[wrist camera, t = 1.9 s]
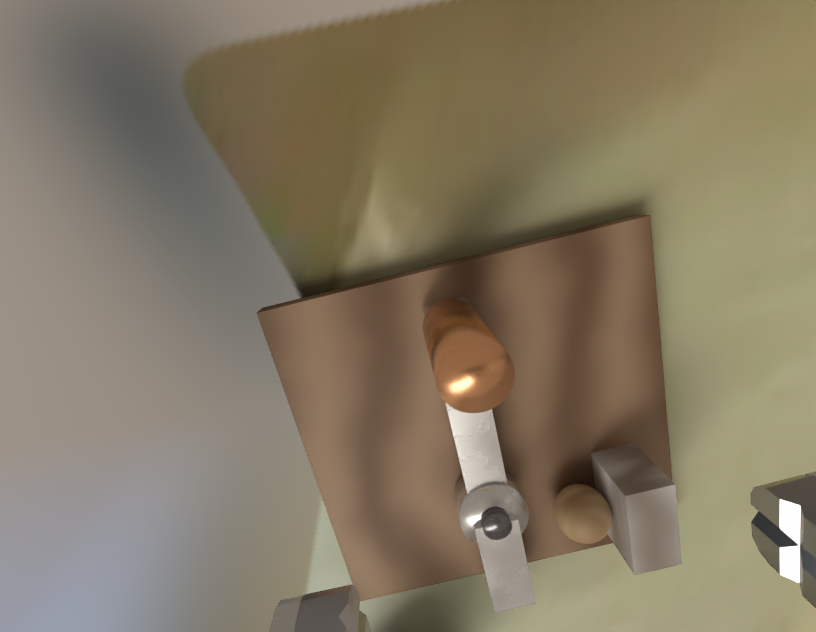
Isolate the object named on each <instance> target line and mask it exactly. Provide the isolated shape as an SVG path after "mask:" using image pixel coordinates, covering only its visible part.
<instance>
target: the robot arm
mask: <svg viewBox="0 0 816 632" xmlns="http://www.w3.org/2000/svg"><path fill="white" fill-rule="evenodd" d="M751 505H752V506H754V507H755V508H756V509H757V510H758V513H757V514H756V516H755V517H754V519H753V520H752V522H751V527H752V537H753V539H754V541H755V543H756V545H757V547H758V550H759V552H760V553H761V554H762V556H763V557H764V558H765V559H766V561H767V562H768V563H769V564H770V565H771V566H772V567H773V568H774V569H775V570H776V571H777V572H778V573H779V574H780V575H782V576H785V577H787V578H789V579H791V580H794V581H796V582H798V583H800V587H801V591H802V595H803V597H804V598H805V599H807V600H808V601H809V602H810V603H811V604H812V605H813V606H814V607H815V608H816V472H812V473H808V474H805V475H800V476H796V477H792V478H788V479H784V480H780V481H776V482H772V483H768V484H764V485H760V486H756V487H754V489H753V490H752V492H751ZM359 604H360V597H359V595H358V592H357V589H356V587H355V585H347V586H343V587H338V588H333V589H329V590H324V591H319V592H314V593H310V594H305V595H303V596H298V597H293V598H289V599H284V600H280V602H279V603H278V605H277V606H276V608H275V611H274V615H273V619H272V622H271V626H270V630H269V632H370V627H369V623H368V620H367V617H366V615H365V614H364V613H362V612H361V611H359Z"/></svg>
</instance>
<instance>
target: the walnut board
mask: <svg viewBox="0 0 816 632" xmlns="http://www.w3.org/2000/svg"><path fill="white" fill-rule="evenodd" d="M460 297H465V298H466V300H467V301H468V302H469V304H470V306H471V307H472V308H473V309H474V310H475V311H476V313H477V314H478V315H479V317H480V318H481V319H482V321H483V322H484V323H485V325H486V326H487V327H488V329H489V330H490V331H491V332H492V334H493V335H494V336H495V338H496V339H497V340H498V342H499V343H500V344H501V346H502V347H503V348H504V349H505V351H506V352H507V353H508V355H509V356H510V358H511V360H512V362H513V365H514V370H515V379H514V384H513V387H512V389H511V391H510V393H509V395H508V396H507V397H506V399H505V400H504V401H503V402H502V403H500V404H499V405H498V406H496V407H495V408H493V409H492V412H493V417H494V421H495V426H496V431H497V436H498V441H499V445H500V450H501V455H502V460H503V465H504V469H505V470H507V471H508V472H509V473H510V474H511V475H512V476H513V477H514V479H515V480H516V483H517V485H518V487H519V489H520V491H521V494H522V496H523V498H524V500H525V503H526V505H527V507H528V511H529V520H528V523H527V526H526V528H525V530H524V531H523V533H522V534H521V535H522V540H523V545H524V550H525V554H526V559H527V563H528V562H532V561H537V560H541V559H545V558H549V557H554V556H558V555H562V554H567V553H571V552H575V551H580V550H584V549H588V548H593V547H597V546H601V545H606V544H610V543H614V544H615V546H616V547H617V549H618V551H619V552H620V554H621V555H622V557H623V558H624V560H625V561H626V563H627V564H628V566H629V567H630V569H631V570H632V572H633V574H634V575H637V574H641V573H646V572H650V571H654V570H659V569H663V568H667V567H672V566H676V565H680V564H682V560H681V547H680V535H679V522H678V510H677V497H676V485H675V483H674V482H673V481H672V474H671V462H670V449H669V437H668V425H667V413H666V401H665V389H664V376H663V364H662V352H661V340H660V328H659V316H658V304H657V291H656V279H655V267H654V255H653V243H652V231H651V218H650V215H635V216H631V217H627V218H623V219H619V220H615V221H611V222H607V223H603V224H599V225H595V226H591V227H587V228H583V229H579V230H575V231H571V232H566V233H562V234H558V235H554V236H550V237H546V238H542V239H538V240H534V241H530V242H526V243H522V244H518V245H514V246H510V247H506V248H502V249H498V250H494V251H490V252H486V253H482V254H478V255H474V256H470V257H466V258H462V259H458V260H454V261H450V262H446V263H442V264H438V265H434V266H430V267H425V268H421V269H417V270H413V271H409V272H405V273H401V274H397V275H393V276H389V277H385V278H381V279H377V280H373V281H369V282H365V283H361V284H357V285H353V286H349V287H345V288H341V289H337V290H333V291H329V292H325V293H321V294H317V295H313V296H309V297H305V298H301V299H297V300H293V301H289V302H284V303H281V304H276V305H273V306H268V307H264V308H262V309H261V310H260V311H258V312H257V315H258V318H259V321H260V323H261V326H262V329H263V332H264V335H265V337H266V341H267V343H268V346H269V349H270V352H271V355H272V357H273V360H274V363H275V366H276V369H277V371H278V374H279V377H280V380H281V383H282V386H283V388H284V391H285V394H286V397H287V400H288V403H289V405H290V408H291V411H292V414H293V416H294V420H295V422H296V425H297V428H298V431H299V434H300V436H301V439H302V442H303V445H304V448H305V451H306V453H307V456H308V459H309V462H310V465H311V467H312V470H313V473H314V476H315V478H316V482H317V484H318V487H319V490H320V493H321V496H322V499H323V501H324V504H325V507H326V510H327V513H328V515H329V518H330V521H331V524H332V527H333V530H334V532H335V535H336V538H337V541H338V544H339V546H340V549H341V552H342V555H343V558H344V561H345V563H346V566H347V569H348V572H349V575H350V578H351V580H352V583H353V585H355V587H356V589H357V592H358V595H359V597H360V601H364V600H368V599H372V598H376V597H381V596H385V595H389V594H394V593H398V592H402V591H407V590H411V589H415V588H420V587H424V586H428V585H433V584H437V583H441V582H446V581H450V580H454V579H459V578H463V577H467V576H472V575H476V574H480V573H485V572H484V568H483V564H482V560H481V556H480V552H479V547H478V544H476V543H474V542H472V541H471V540H469V539H468V538H467V537H466V536H465V534H464V533H463V531H462V528H461V525H460V520H459V516H458V511H457V507H456V502H455V488H456V485H457V483H458V482H459V480H460V479H461V478H462V476H463V475H462V471H461V467H460V463H459V459H458V455H457V450H456V446H455V442H454V438H453V434H452V430H451V426H450V421H449V417H448V413H447V409H446V405H445V401H444V400H443V399H442V397H441V396H440V394H439V392H438V389H437V385H436V381H435V377H434V373H433V369H432V366H431V362H430V358H429V354H428V350H427V346H426V342H425V338H424V334H423V321H424V314H423V310H422V307H423V306H427V305H431V304H435V303H438V302H440V301H443V300H447V299H456V298H460ZM573 484H583V485H587V486H590V487H592V488H594V489H596V490H597V491H598V492H599V493H601V494H602V495H603V497H604V498H605V499H606V501H607V502H608V504H609V507H610V509H611V514H612V523H611V528H610V530H609V532H608V534H607V535H606V536H605V537H604V538H603V539H601V540H600V541H598V542H595V543H591V544H584V543H579V542H576V541H574V540H572V539H570V538H569V537H567V536H566V535H565V534H564V533H563V532H562V531H561V530H560V528H559V527H558V525H557V523H556V520H555V517H554V512H553V506H554V501H555V498H556V496H557V495H558V493H559V492H560V491H561V490H562V489H563V488H565V487H567V486H569V485H573Z"/></svg>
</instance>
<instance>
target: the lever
mask: <svg viewBox="0 0 816 632" xmlns="http://www.w3.org/2000/svg"><path fill="white" fill-rule="evenodd" d="M422 310H423V314H424V321H423V334H424V338H425V342H426V346H427V350H428V354H429V358H430V362H431V366H432V369H433V373H434V377H435V381H436V385H437V389H438V392H439V394H440V396H441V397H442V399H443V400H444V401H445V405H446V409H447V413H448V417H449V421H450V426H451V430H452V434H453V438H454V442H455V446H456V450H457V455H458V459H459V463H460V467H461V471H462V475H463V476H462V478H461V479H460V480H459V482H458V483H457V485H456V488H455V502H456V507H457V511H458V516H459V520H460V525H461V528H462V531H463V533H464V534H465V536H466V537H467V538H468V539H469V540H471V541H472V542H474V543H476V544H478V547H479V552H480V556H481V560H482V564H483V568H484V572H485V576H486V580H487V584H488V588H489V592H490V596H491V600H492V604H493V608H494V612H495V613H496V612H500V611H505V610H509V609H514V608H518V607H522V606H527V605H531V604H535V598H534V593H533V588H532V584H531V579H530V574H529V569H528V564H527V559H526V554H525V550H524V545H523V540H522V535H521V534H522V533H523V531H524V530H525V528H526V526H527V523H528V520H529V511H528V507H527V505H526V503H525V500H524V498H523V496H522V494H521V491H520V489H519V487H518V485H517V483H516V480H515V479H514V477H513V476H512V475H511V474H510V473H509V472H508V471H507V470H505V469H504V465H503V460H502V455H501V450H500V445H499V441H498V436H497V431H496V426H495V421H494V417H493V412H492V409H493V408H495V407H496V406H498V405H499V404H500V403H502V402H503V401H504V400H505V399H506V397H507V396H508V395H509V393H510V391H511V389H512V387H513V384H514V379H515V370H514V365H513V362H512V360H511V358H510V356H509V355H508V353H507V352H506V351H505V349H504V348H503V347H502V346H501V344H500V343H499V342H498V340H497V339H496V338H495V336H494V335H493V334H492V332H491V331H490V330H489V329H488V327H487V326H486V325H485V323H484V322H483V321H482V319H481V318H480V317H479V315H478V314H477V313H476V311H475V310H474V309H473V308H472V307H471V306H470V304H469V302H468V301H467V300H466V298H465V297H460V298H456V299H447V300H443V301H440V302H438V303H435V304H431V305H427V306H423V307H422Z"/></svg>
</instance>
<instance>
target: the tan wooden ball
mask: <svg viewBox="0 0 816 632" xmlns="http://www.w3.org/2000/svg"><path fill="white" fill-rule="evenodd" d="M553 512H554V517H555V520H556V523H557V525H558V527H559V528H560V530H561V531H562V532H563V533H564V534H565V535H566V536H567V537H569V538H570V539H572V540H574V541H576V542H579V543H584V544H591V543H595V542H598V541H600V540H601V539H603V538H604V537H605V536H606V535H607V534H608V532H609V530H610V528H611V523H612V514H611V509H610V507H609V504H608V502H607V501H606V499H605V498H604V497H603V495H602V494H601V493H599V492H598V491H597V490H596V489H594V488H592V487H590V486H587V485H583V484H573V485H569V486H567V487H565V488H563V489H562V490H561V491H560V492H559V493H558V495H557V496H556V498H555V501H554V506H553Z"/></svg>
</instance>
